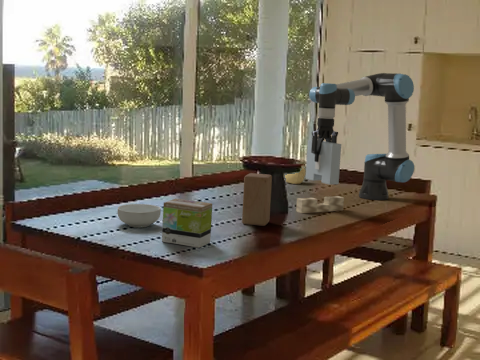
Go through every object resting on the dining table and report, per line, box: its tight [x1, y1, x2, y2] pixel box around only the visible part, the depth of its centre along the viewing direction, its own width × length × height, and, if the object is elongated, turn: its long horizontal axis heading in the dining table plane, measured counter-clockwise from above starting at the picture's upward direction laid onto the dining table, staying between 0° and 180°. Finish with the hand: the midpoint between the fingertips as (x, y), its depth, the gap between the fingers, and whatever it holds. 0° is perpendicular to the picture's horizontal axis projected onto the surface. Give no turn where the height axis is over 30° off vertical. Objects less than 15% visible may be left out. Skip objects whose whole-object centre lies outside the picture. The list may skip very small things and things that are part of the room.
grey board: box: [305, 139, 342, 186], centre depth 333 cm, size 18×5×18 cm, turn 31°
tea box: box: [161, 198, 213, 249], centre depth 260 cm, size 15×10×15 cm, turn 69°
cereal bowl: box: [117, 203, 162, 228], centre depth 285 cm, size 17×17×7 cm
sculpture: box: [285, 167, 306, 185], centre depth 418 cm, size 12×12×11 cm
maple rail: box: [295, 195, 345, 214], centre depth 336 cm, size 24×4×6 cm, turn 122°
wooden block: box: [241, 172, 273, 227], centre depth 300 cm, size 10×10×20 cm
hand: (322, 168), depth 333 cm, fingers closed on grey board, 5 cm apart
